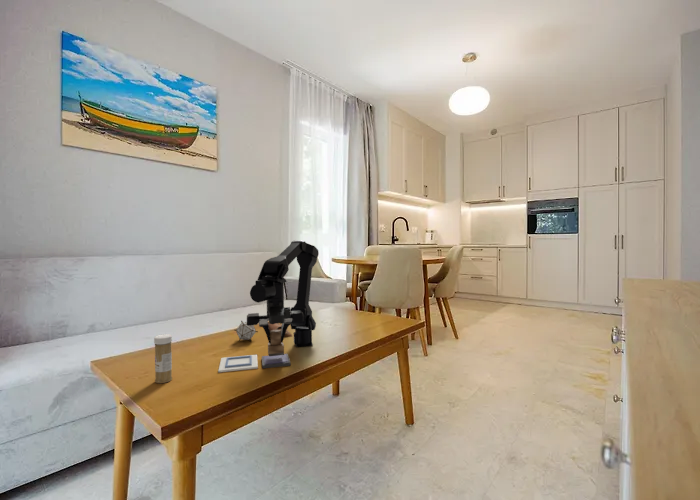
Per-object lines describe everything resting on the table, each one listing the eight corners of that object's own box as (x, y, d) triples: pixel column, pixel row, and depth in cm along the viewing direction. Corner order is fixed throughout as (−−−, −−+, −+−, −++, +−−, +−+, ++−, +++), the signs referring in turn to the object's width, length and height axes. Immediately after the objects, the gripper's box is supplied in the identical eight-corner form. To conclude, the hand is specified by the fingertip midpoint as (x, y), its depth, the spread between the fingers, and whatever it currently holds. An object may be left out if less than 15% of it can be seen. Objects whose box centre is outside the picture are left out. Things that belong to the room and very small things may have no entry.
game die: (250, 348, 143) (265, 327, 145) (242, 346, 135) (258, 325, 137) (234, 336, 145) (249, 316, 147) (226, 334, 137) (241, 313, 139)
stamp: (282, 350, 119) (282, 328, 119) (284, 354, 115) (283, 332, 114) (267, 351, 118) (267, 329, 118) (268, 356, 113) (268, 333, 113)
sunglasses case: (294, 336, 147) (286, 323, 145) (280, 346, 144) (271, 333, 143) (283, 326, 163) (276, 315, 161) (271, 335, 161) (263, 324, 159)
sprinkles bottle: (152, 381, 101) (151, 336, 101) (168, 376, 105) (167, 332, 104) (158, 385, 98) (157, 339, 98) (175, 380, 102) (174, 335, 101)
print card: (257, 356, 122) (257, 353, 122) (257, 368, 111) (257, 365, 111) (221, 359, 119) (221, 356, 119) (218, 372, 107) (218, 369, 107)
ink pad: (287, 356, 122) (287, 353, 122) (290, 365, 113) (290, 361, 113) (261, 359, 119) (261, 355, 119) (262, 368, 111) (262, 364, 111)
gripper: (246, 303, 105) (246, 353, 106) (306, 299, 110) (306, 347, 111) (246, 297, 116) (247, 342, 117) (301, 294, 121) (301, 337, 122)
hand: (275, 342), depth 116 cm, fingers closed on stamp, 4 cm apart
